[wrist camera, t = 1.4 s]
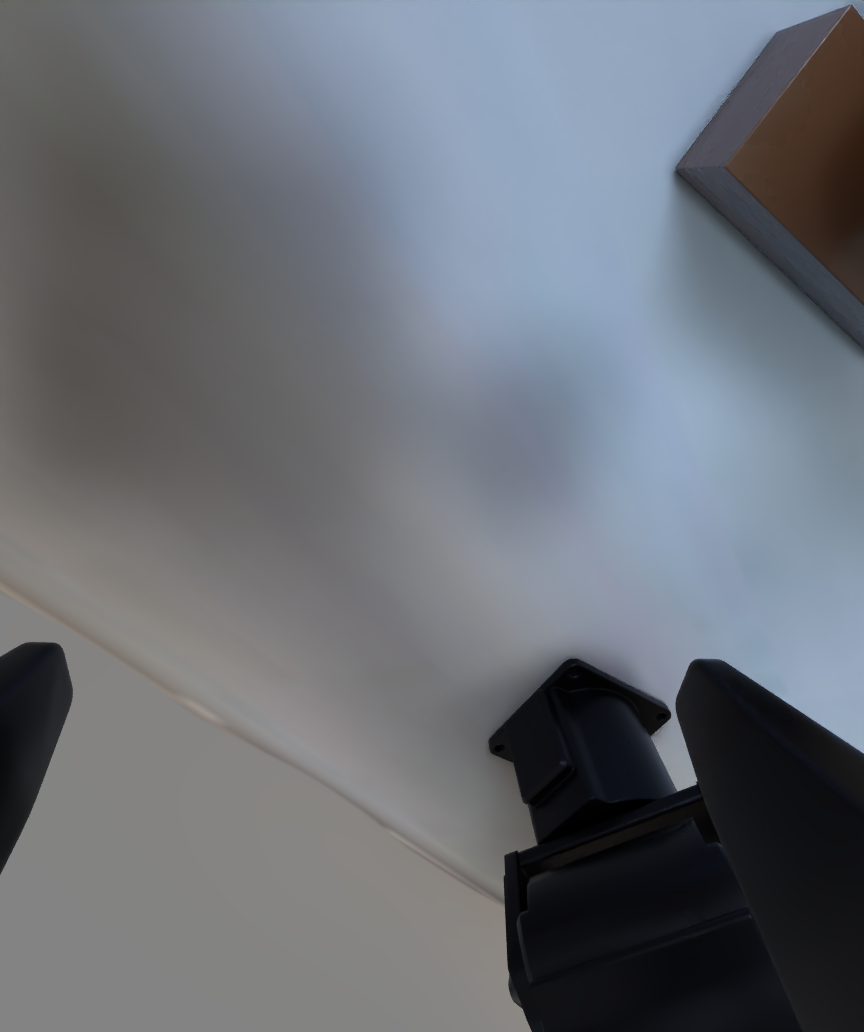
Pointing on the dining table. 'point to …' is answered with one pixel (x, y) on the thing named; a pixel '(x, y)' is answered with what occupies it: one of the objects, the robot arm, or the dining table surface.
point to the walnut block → (797, 160)
